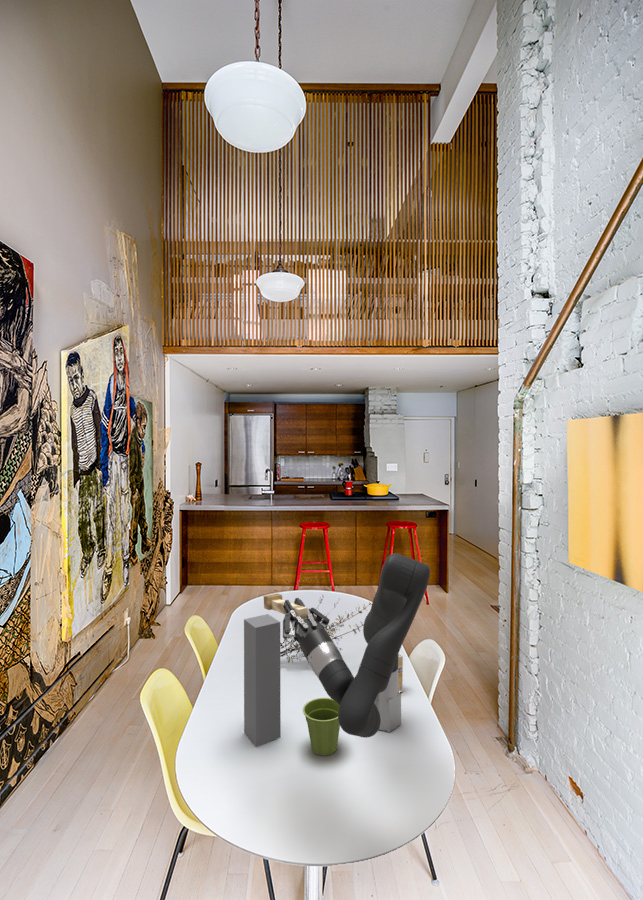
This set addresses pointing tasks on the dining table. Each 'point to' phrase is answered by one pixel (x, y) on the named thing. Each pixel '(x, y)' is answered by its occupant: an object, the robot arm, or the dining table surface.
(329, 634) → the dried plant
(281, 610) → the hanging bar
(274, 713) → the plinth
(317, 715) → the plant pot
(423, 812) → the dining table surface
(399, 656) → the supplement box
